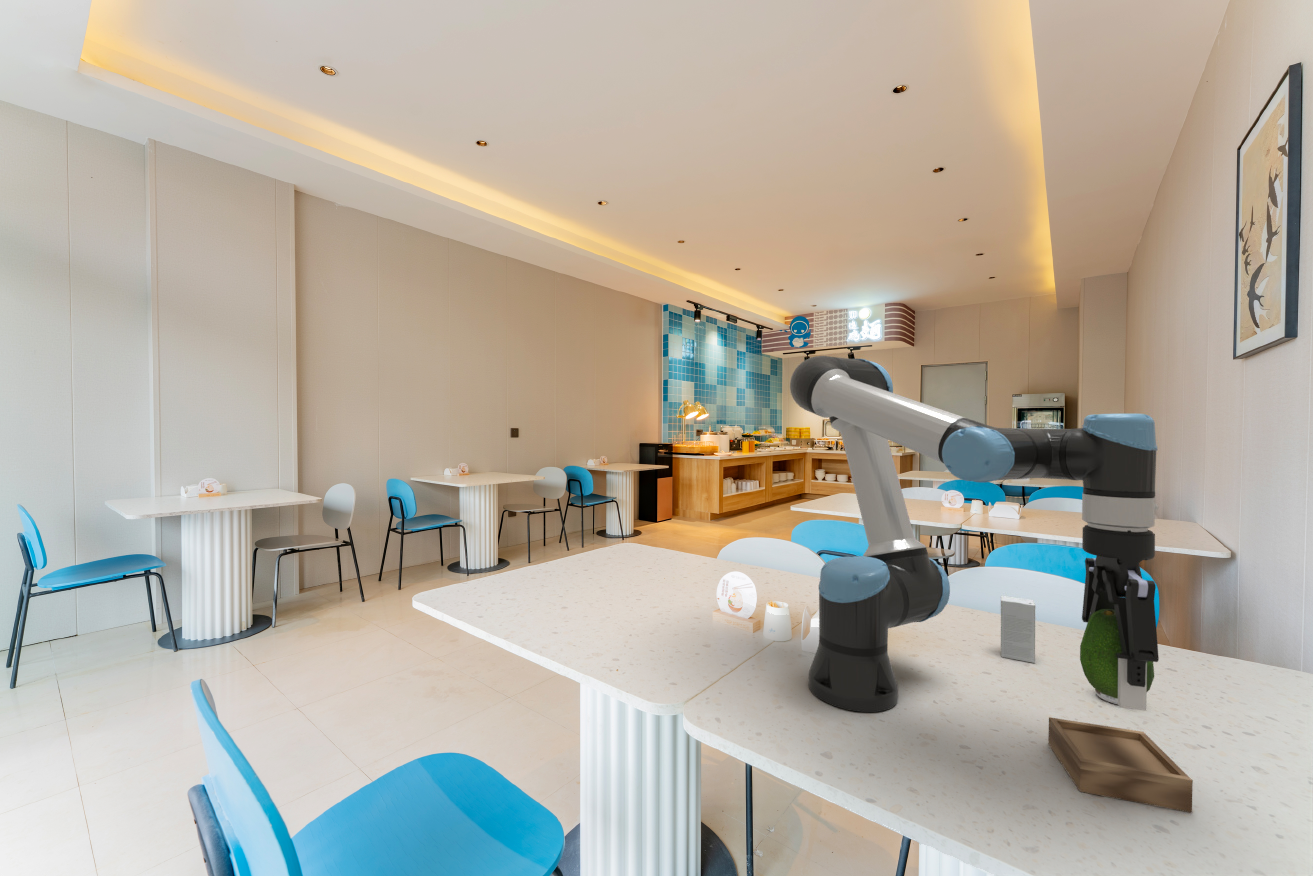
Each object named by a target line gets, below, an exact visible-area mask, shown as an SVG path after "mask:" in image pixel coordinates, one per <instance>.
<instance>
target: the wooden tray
mask: <svg viewBox="0 0 1313 876" xmlns="http://www.w3.org/2000/svg"><path fill="white" fill-rule="evenodd" d="M1047 735H1048V736H1047V737H1048V745H1049V747H1050V749H1051V750H1052V751H1053V753H1054V755H1055V756H1056V758H1057V759H1058V761H1059V762H1060V764H1061V765H1062V767H1063V768H1064V769H1065V771H1066V772H1067V774H1068V775H1069V777H1070V778H1071V780H1072V782H1073V783H1074V785H1075V786H1076V787H1077V789H1078V791H1079V792H1081V793H1086V794H1090V795H1096V796H1102V797H1108V798H1113V799H1116V800H1117V799H1118V800H1124V801H1129V802H1134V803H1139V804H1144V805H1150V806H1156V807H1159V808H1165V809H1172V810H1176V811H1183V812H1186V813H1191V812H1192V813H1193V783H1194V782H1193V779H1191V777H1189V775H1188V774H1187V773H1186V772H1185V771H1184V770H1183V769H1182V768H1180V766H1179V765H1178V764H1177V763H1176V762H1175V761H1173V759H1172V758H1171V757H1169V756H1168V755H1167V753H1165V751H1163V749H1161V747H1159V746H1158V745H1157V744H1156V743H1155V742H1154V740H1152V739H1151V738H1150V737H1149V736H1148V735H1147V734H1146V732H1144V731H1142V730H1133V729H1128V728H1122V727H1115V726H1108V725H1102V724H1095V723H1088V722H1081V721H1077V720H1069V719H1063V718H1055V717H1051V716H1049V717H1048V734H1047Z"/></svg>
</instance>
